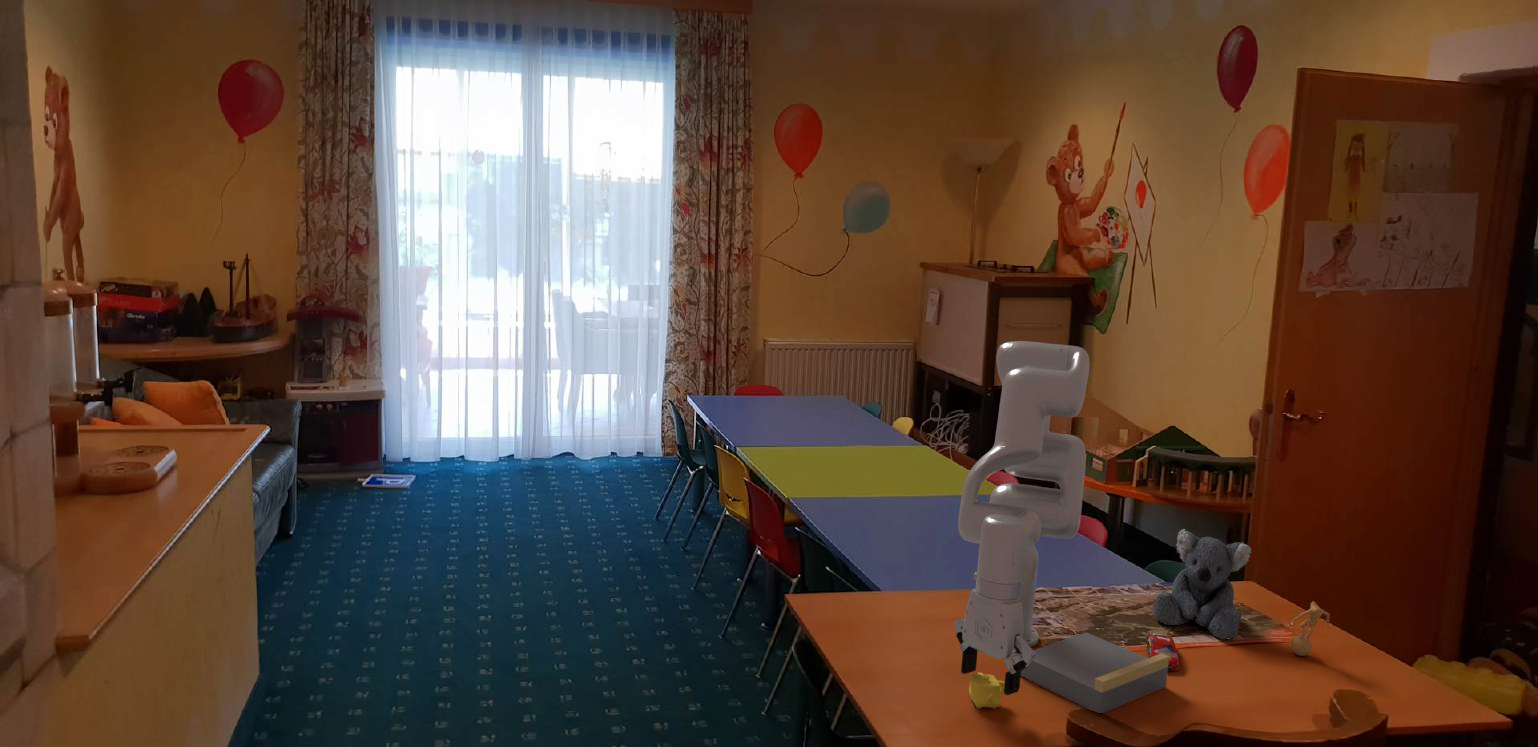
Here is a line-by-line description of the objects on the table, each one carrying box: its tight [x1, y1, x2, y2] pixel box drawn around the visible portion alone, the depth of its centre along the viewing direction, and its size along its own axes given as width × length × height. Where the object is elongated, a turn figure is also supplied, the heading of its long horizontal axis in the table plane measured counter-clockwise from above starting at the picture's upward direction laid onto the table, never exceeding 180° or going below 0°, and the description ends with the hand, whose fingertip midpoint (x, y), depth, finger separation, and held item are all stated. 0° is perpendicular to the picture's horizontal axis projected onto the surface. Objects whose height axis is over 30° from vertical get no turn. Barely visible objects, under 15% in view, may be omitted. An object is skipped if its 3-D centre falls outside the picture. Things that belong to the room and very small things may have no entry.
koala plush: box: [1152, 528, 1252, 640], centre depth 232 cm, size 17×18×20 cm
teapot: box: [968, 672, 1005, 710], centre depth 189 cm, size 8×6×5 cm
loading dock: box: [1020, 631, 1169, 714], centre depth 201 cm, size 18×20×6 cm
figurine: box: [1289, 601, 1331, 657], centre depth 216 cm, size 8×6×12 cm
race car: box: [1146, 632, 1180, 672], centre depth 213 cm, size 13×5×4 cm, turn 163°
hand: (989, 682), depth 188 cm, fingers open, 9 cm apart
